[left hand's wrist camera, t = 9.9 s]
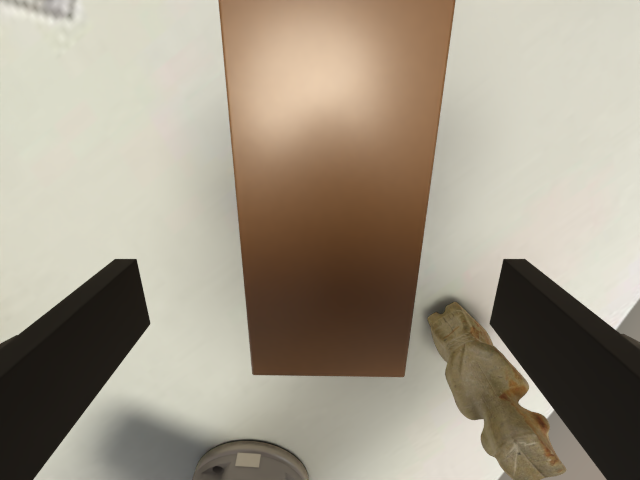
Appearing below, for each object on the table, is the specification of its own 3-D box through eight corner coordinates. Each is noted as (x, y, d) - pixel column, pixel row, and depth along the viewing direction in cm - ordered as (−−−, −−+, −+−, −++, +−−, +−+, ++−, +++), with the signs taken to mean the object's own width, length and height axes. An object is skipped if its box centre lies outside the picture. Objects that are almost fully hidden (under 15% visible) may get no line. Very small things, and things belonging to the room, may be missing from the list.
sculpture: (443, 358, 39) (508, 507, 25) (412, 313, 36) (464, 449, 23) (493, 334, 37) (590, 478, 24) (463, 286, 35) (553, 414, 21)
